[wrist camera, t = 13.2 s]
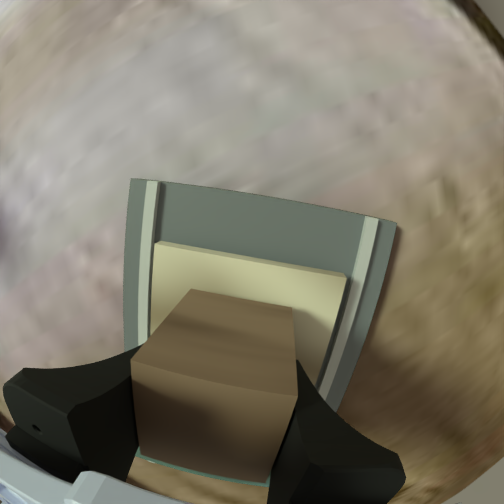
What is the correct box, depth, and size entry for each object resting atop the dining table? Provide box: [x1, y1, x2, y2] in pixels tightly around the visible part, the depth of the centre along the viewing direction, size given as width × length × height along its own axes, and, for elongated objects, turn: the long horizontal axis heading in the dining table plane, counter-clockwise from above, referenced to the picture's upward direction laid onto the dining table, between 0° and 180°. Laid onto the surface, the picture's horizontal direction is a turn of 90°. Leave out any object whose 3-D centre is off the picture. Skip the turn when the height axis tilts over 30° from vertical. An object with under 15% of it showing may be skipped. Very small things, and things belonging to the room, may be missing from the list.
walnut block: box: [131, 289, 298, 483], centre depth 10 cm, size 4×4×6 cm
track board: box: [123, 179, 397, 463], centre depth 17 cm, size 22×14×1 cm, turn 171°
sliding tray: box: [135, 241, 347, 487], centre depth 13 cm, size 9×9×6 cm
